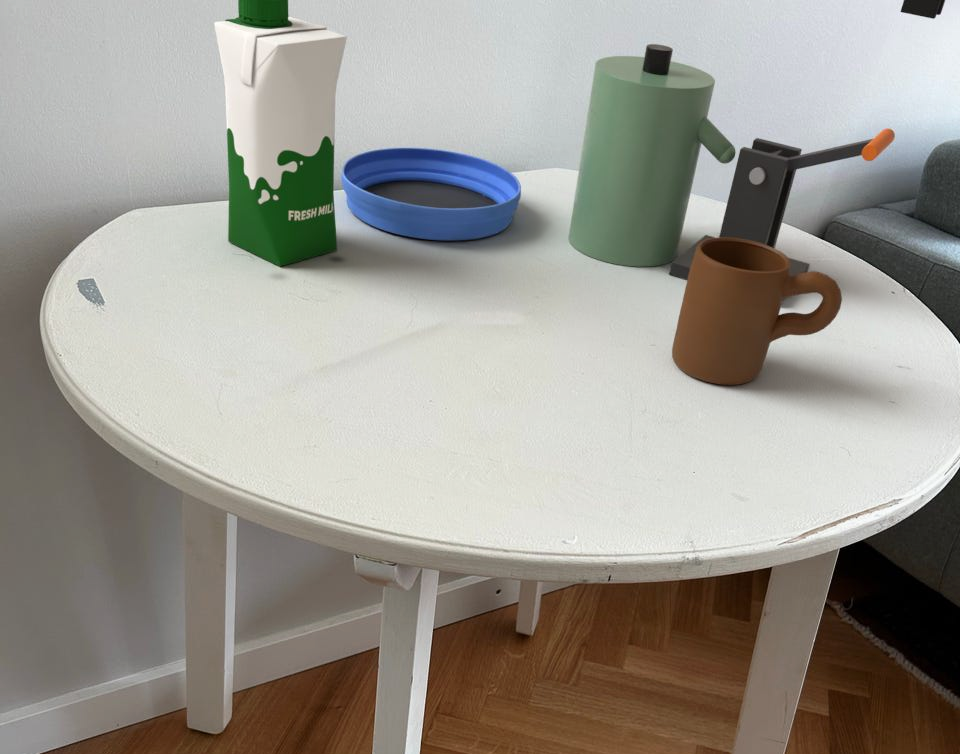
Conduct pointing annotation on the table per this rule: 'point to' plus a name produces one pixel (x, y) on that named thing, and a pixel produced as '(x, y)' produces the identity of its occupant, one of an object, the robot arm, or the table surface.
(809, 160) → the switch
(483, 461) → the table surface
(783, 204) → the dark grey stand
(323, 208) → the milk carton
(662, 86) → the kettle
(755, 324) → the mug
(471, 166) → the bowl
